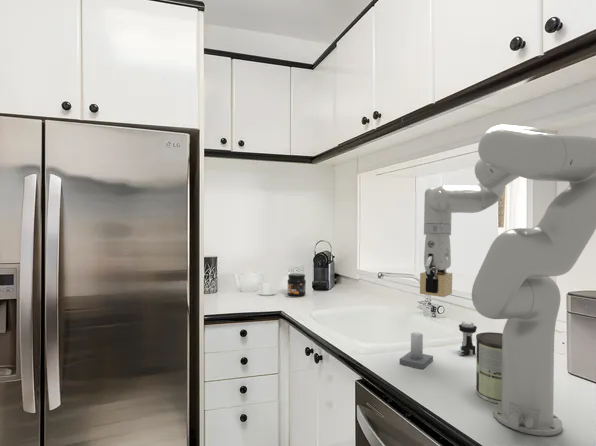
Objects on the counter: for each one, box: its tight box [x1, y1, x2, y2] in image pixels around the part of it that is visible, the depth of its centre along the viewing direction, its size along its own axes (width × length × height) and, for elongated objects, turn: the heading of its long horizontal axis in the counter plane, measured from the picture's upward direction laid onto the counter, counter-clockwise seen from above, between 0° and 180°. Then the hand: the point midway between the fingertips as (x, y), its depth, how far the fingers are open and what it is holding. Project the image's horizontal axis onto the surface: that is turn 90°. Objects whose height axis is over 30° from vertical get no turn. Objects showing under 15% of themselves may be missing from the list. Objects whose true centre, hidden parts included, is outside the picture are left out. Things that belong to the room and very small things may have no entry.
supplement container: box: [286, 273, 307, 298], centre depth 225 cm, size 10×10×12 cm
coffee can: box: [475, 331, 503, 405], centre depth 95 cm, size 10×10×14 cm
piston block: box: [399, 332, 434, 370], centre depth 118 cm, size 9×7×8 cm
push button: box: [458, 321, 478, 357], centre depth 125 cm, size 7×5×10 cm
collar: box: [419, 271, 453, 298], centre depth 115 cm, size 7×7×6 cm
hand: (436, 290), depth 115 cm, fingers closed on collar, 7 cm apart
